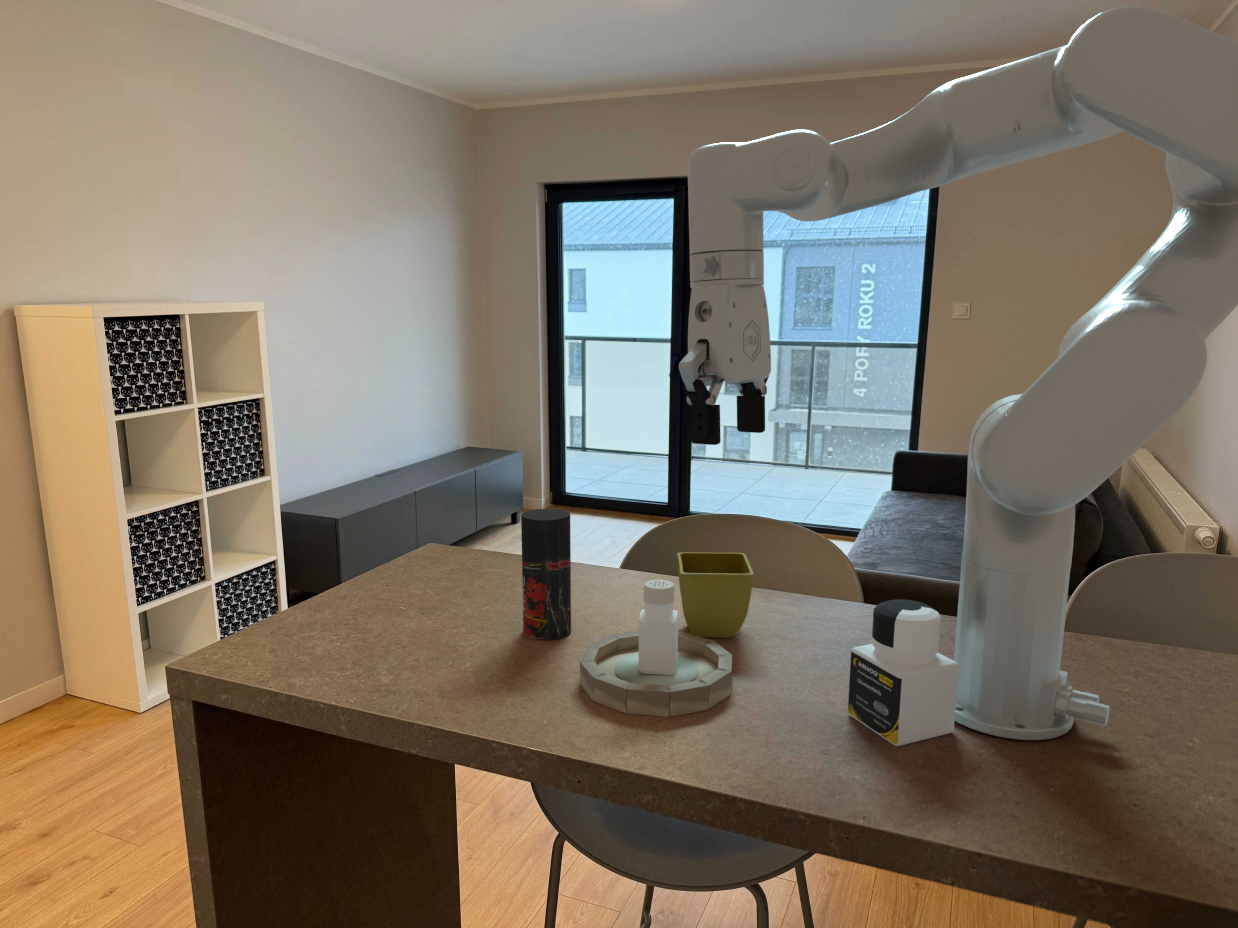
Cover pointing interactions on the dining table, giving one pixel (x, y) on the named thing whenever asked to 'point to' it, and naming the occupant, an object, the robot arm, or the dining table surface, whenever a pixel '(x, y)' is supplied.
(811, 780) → the dining table surface
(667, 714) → the tray
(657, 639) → the pepper shaker
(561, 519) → the deodorant
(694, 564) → the flower pot
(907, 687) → the medicine bottle
